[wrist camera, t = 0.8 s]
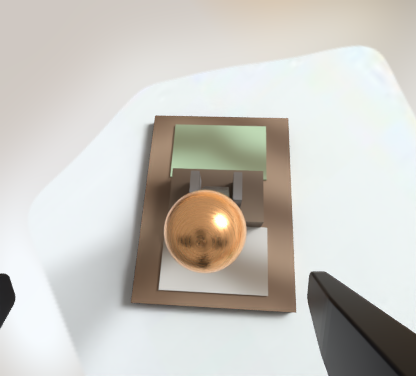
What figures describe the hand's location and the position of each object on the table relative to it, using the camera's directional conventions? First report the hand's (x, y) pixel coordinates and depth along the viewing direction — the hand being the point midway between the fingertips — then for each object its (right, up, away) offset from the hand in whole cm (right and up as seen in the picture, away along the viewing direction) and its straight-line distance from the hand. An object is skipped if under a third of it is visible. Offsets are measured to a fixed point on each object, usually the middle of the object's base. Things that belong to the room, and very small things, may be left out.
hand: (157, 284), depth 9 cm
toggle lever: (+2, +2, +14) cm, 14 cm away
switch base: (+2, +1, +16) cm, 17 cm away
